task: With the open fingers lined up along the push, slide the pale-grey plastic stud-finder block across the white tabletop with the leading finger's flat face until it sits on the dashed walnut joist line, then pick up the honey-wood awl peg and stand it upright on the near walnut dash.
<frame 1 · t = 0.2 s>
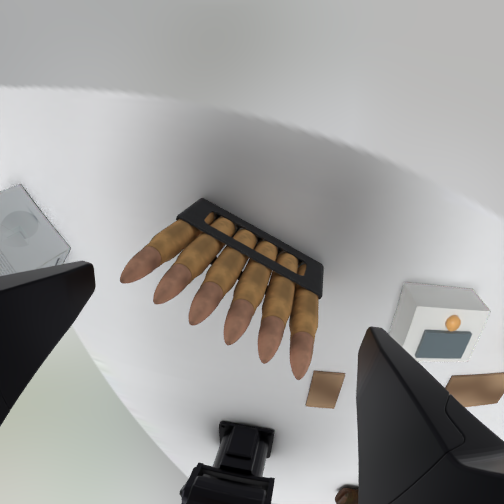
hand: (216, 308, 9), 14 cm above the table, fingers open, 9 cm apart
ammunition clip: (257, 240, 24), on the table
skincare box: (37, 233, 28), on the table
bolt: (378, 489, 35), on the table
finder: (431, 310, 23), on the table
joist strip: (411, 393, 26), on the table
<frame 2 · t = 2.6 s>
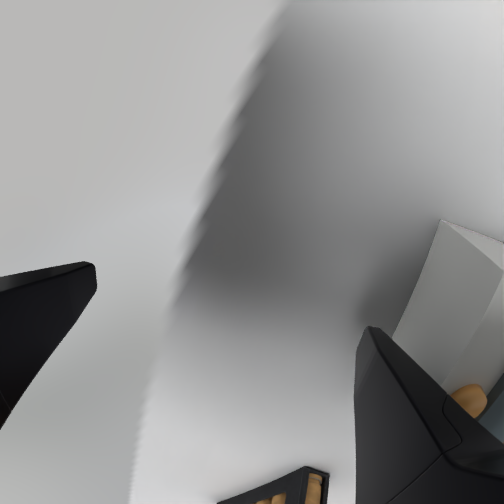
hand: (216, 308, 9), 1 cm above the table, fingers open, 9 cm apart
ammunition clip: (265, 491, 16), on the table
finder: (455, 325, 9), on the table, touching gripper
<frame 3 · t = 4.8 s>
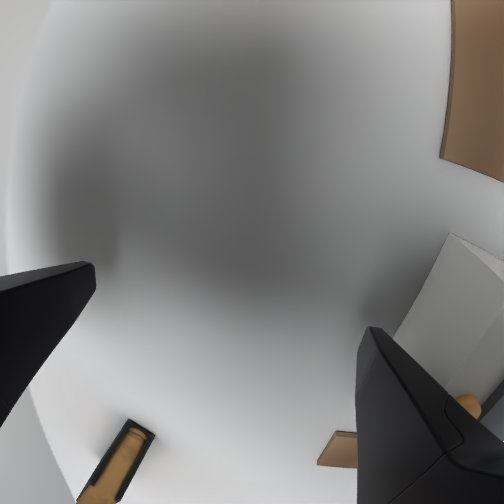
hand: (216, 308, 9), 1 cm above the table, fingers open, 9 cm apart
ammunition clip: (124, 448, 17), on the table
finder: (451, 337, 10), on the table
joist strip: (465, 292, 9), on the table
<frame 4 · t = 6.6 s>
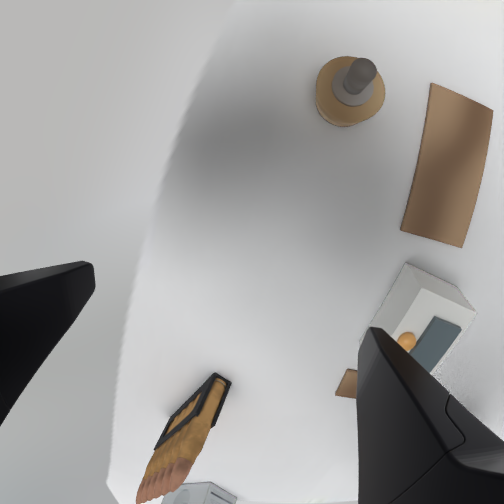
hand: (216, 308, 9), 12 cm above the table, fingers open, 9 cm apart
ammunition clip: (198, 401, 28), on the table
skincare box: (202, 491, 37), on the table
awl: (341, 101, 16), on the table
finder: (408, 313, 20), on the table
joist strip: (413, 290, 20), on the table
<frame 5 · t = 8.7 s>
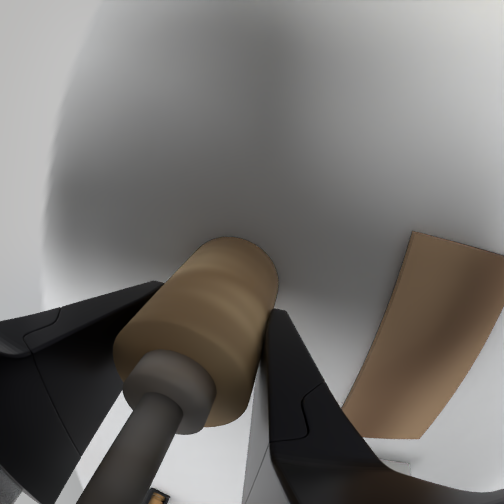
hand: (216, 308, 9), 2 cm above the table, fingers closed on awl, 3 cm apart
ammunition clip: (146, 497, 22), on the table
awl: (232, 281, 11), on the table, touching gripper
joist strip: (348, 469, 14), on the table
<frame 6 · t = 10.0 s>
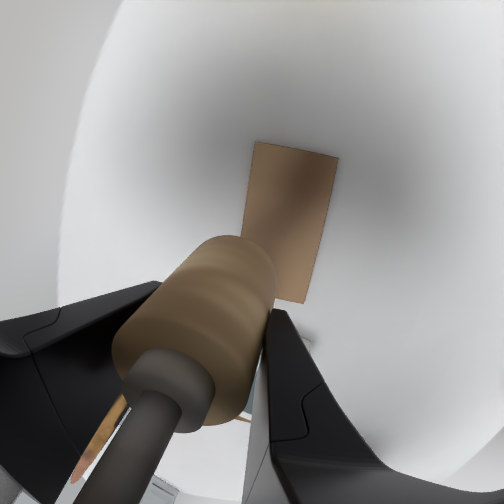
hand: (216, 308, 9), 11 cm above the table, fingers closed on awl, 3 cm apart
ammunition clip: (120, 405, 32), on the table
skincare box: (151, 482, 41), on the table
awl: (231, 279, 11), point 10 cm above the table, touching gripper
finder: (261, 355, 24), on the table
joist strip: (259, 337, 23), on the table
when the fingers open (3 cm above the table, at t = 11.9 s): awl drops 1 cm, resting on joist strip.
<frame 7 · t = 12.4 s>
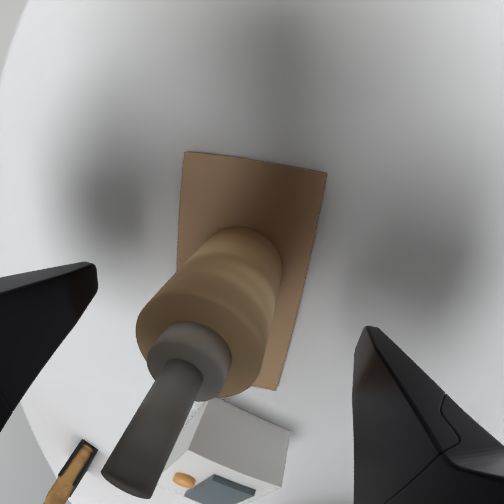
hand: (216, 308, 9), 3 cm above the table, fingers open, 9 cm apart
ammunition clip: (85, 455, 24), on the table
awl: (239, 267, 12), resting on joist strip
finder: (225, 436, 17), on the table
joist strip: (220, 420, 16), on the table
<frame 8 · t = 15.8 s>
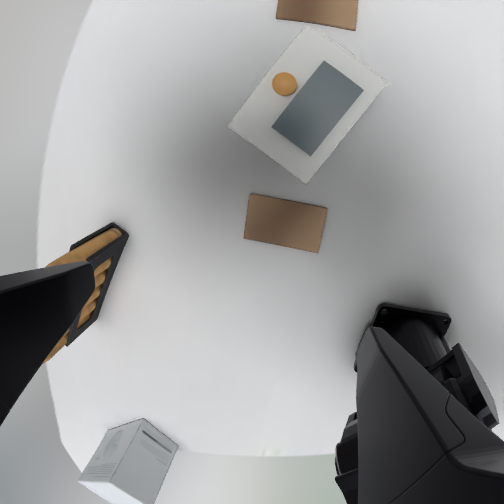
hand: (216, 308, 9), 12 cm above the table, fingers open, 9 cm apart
ammunition clip: (103, 274, 25), on the table
skincare box: (142, 437, 34), on the table
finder: (308, 108, 17), on the table
joist strip: (308, 78, 16), on the table
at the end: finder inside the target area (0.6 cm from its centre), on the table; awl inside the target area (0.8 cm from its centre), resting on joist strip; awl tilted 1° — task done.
